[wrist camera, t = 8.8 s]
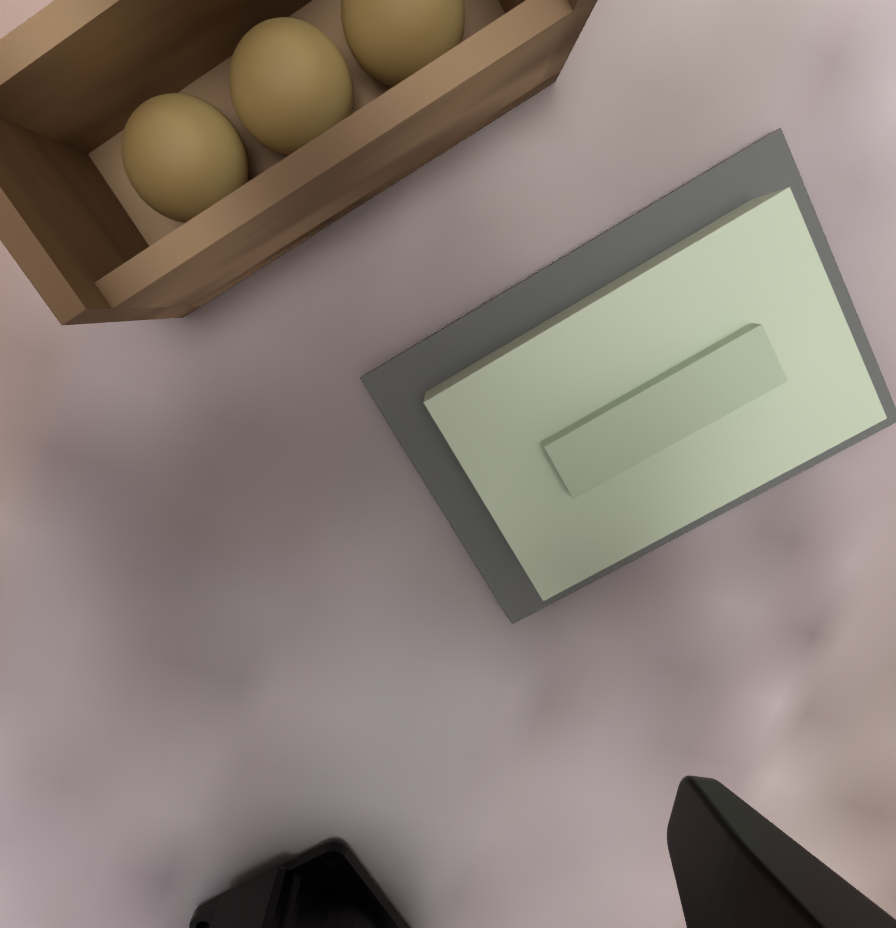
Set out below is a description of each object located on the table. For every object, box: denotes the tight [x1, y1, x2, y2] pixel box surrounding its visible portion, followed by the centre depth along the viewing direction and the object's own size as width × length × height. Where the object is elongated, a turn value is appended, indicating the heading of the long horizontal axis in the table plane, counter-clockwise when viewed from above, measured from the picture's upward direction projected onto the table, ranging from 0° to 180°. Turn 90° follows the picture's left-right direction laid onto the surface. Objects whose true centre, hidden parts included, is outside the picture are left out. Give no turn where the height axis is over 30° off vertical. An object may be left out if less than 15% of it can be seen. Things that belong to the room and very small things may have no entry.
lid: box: [423, 187, 887, 601], centre depth 17 cm, size 10×6×3 cm, turn 120°
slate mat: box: [360, 128, 896, 624], centre depth 19 cm, size 9×13×1 cm
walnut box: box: [0, 0, 597, 325], centre depth 14 cm, size 12×5×6 cm, turn 120°
